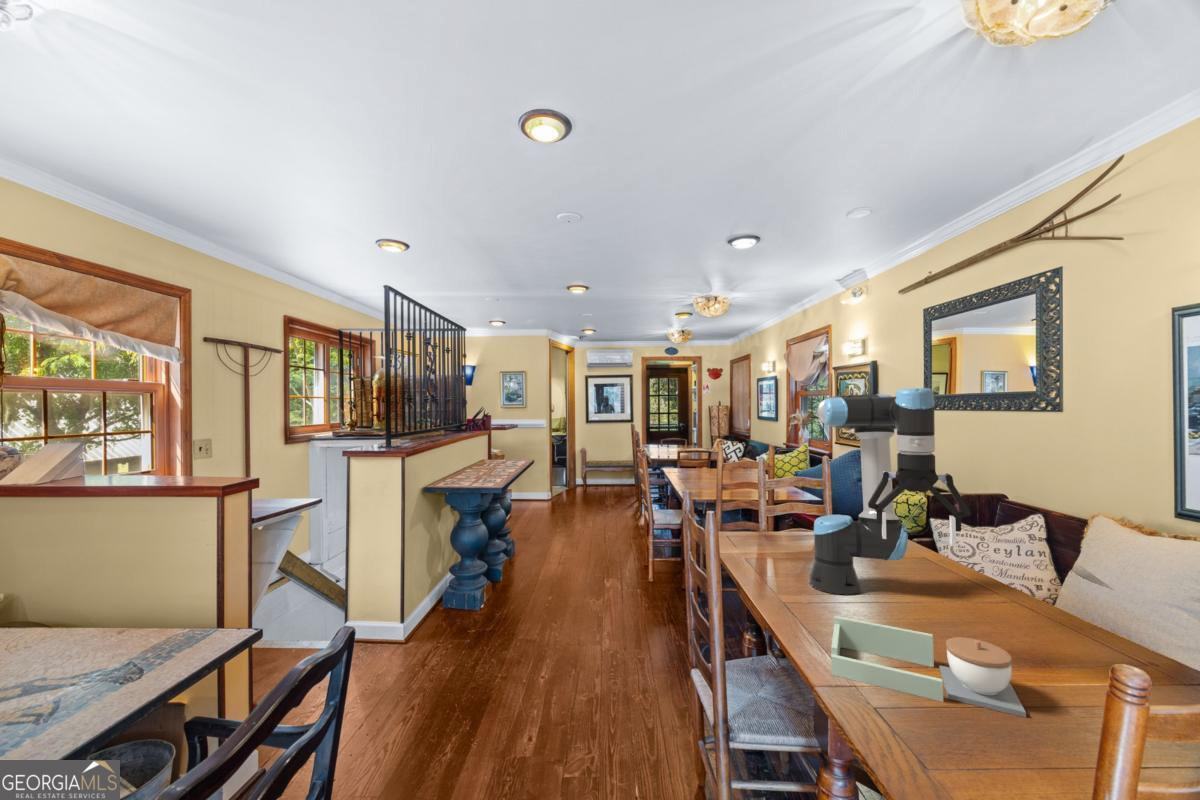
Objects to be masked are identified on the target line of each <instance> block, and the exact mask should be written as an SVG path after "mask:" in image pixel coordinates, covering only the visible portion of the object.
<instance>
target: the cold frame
mask: <svg viewBox="0 0 1200 800" xmlns="http://www.w3.org/2000/svg"><path fill="white" fill-rule="evenodd" d="M833 618H834V619H833V621H834V622H833V623H834V625H833V632H832V639H831V647H830V650H831V651H830V652H831V655H830V662H831V663H830V667H831V668H830V670H831V671H830V672H831V673H830V674H831V676H835V677H841V678H843V679H849V680H852V681H857V682H860V683H865V684H869V685H873V686H877V687H880V688H884V689H888V690H892V691H897V692H900V693H901V692H902V693H904V694H908V695H914V696H916V697H920V698H926V699H929V700H933V701H937V702H941V703H944V683H943V680H942V678H939V677H934V676H930V675H926V674H921V673H918V672H913V671H907V670H904V669H900V668H895V667H891V666H886V665H882V664H877V663H873V662H868V661H864V660H859V659H855V658H851V657H846V656H842V655H840V654H841V648H844V649H848V650H853V651H857V652H862V653H866V654H871V655H875V656H879V657H885V658H890V659H894V660H898V661H902V662H903V661H904V662H907V663H910V664H911V663H913V664H917V665H921V666H926V667H929V668H930V667H931V668H934V667H935V662H934V636H933V633H927V632H923V631H916V630H911V629H908V628H902V627H896V626H891V625H885V624H881V623H880V624H879V623H875V622H869V621H866V620H865V621H864V620H859V619H852V618H850V617H849V618H848V617H843V616H838V615H834V616H833Z"/></svg>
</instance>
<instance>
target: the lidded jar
mask: <svg viewBox="0 0 1200 800" xmlns="http://www.w3.org/2000/svg"><path fill="white" fill-rule="evenodd" d="M945 648H946V656H947V663H948V665H949V666H948V667H949V668H950V669H951V671H952V672H953V674H954V675H955V677H956V678H957V679H958V680H959V681H960V682H961V684H962V685H963V686H964V687H965V688H967V689H969V690H971V691H973V692H975V693H978V694H982V695H988V696H994V695H997V694H998V692H1001V691H1002V690H1004V689H1005V688H1006V687H1007V686H1008V684H1009V682H1010V683H1011V678H1012V664H1013V658H1012V656H1011V654H1010V653H1009V652H1007V651H1006V650H1004V649H1003V648H1001V647H999V646H997V645H995V644H993V643H990V642H987V641H984V640H980V639H977V638H970V637H962V636H959V637H958V636H955V637H950V638H948V639H947V640H945Z"/></svg>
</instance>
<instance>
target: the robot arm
mask: <svg viewBox="0 0 1200 800" xmlns="http://www.w3.org/2000/svg"><path fill="white" fill-rule="evenodd" d="M935 405H936V400H935V395H934V391H933V390H932V388H928V387H926V388H925V387H924V388H921V387H920V388H900V389H897V391H896V394H895V396H892V395H890V394H880V393H875V394H874V393H873V394H849V395H848V394H841V395H840V394H839V395H836V396H834V395H833V396H831V397H827V398H825V399H823V400H822V401H820V402H819V403H818V405H817V407H816V416H817V418H818V420H819V421H820V422H821V423H823V424H824V425H826V426H828V427H830V428H831V427H832V428H836V429H844V430H845V429H848V430H849V429H850V430H852V429H853V430H854V431H853V432H854V435H855V436H856V437H857V438H858V439H859V441H860V442H859V443H860V444H859V445H860V448H859V449H860V463H861V464H860V466H861V467H860V468H861V486H862V487H861V488H862V505H863V506H862V507H863V509H862V512H860V513H859V514H858V520H853V518H852V516H850V515H845V514H828V515H822V516H819V517H817V518H816V519H815V520H814V522H813V534H814V535H813V537H814V540H813V541H814V542H813V545H814V551H813V553H814V554H813V555H814V562H813V564H812V568H811V571H810V573H809V576H808V577H809V584H810V583H811V584H812V585H813V586H814V587H816V588H818V589H820V590H823V591H826V592H825V593H827V592H829V594H832V593H835V594H834V595H839V594H844V596H845V595H846V596H848V595H849V594H851V595H856V594H859V592H861V582H860V580H859V576H858V574H857V572H856V569H855V567H854V558H861V559H872V560H883V561H885V562H886V561H901V560H902V559H903V558H904V557H905V555H906V553H907V548H908V543H909V542H908V541H909V539H908V538H909V537H908V536H909V535H908V529H907V526H906V524H904V523H901V518H900V517H899V516H898V515H896V513H895V508H894V500H895V499H896V498H898V496H899V495H900V494H901V493H904V491H905V490H906V491H907V492H912V493H914V492H918V493H926V492H930V493H931V494H932V495H933V496H934V497H935V498H936V499H937V500H938V501H939V502H940V503H941V504H942V505H943V506H945V507H944V508H946V509H947V510H948V511H949V512H950V513H951V514H952V515H951V514H950V515H948V517H949V519H948V523H949V524H948V525H949V527H948V528H949V530H948V531H949V532H948V533H949V544H950V546H951V547H957V539H956V538H957V537H956V536H957V532H958V533H960V532H961V531H962V519H963V518H966V517H970V516H972V512H971V510H970V508H969V507H968V505H967V504H966V502H965V501H964V499H963V498H962V496H961V494H960V492H959V491H958V489H957V487H956V486H955V484H954V479H953V476H952V475H951V474H950V473H948V472H947V473H945V474H937V472H936V455H935V454H933V453H934V452H936V444H935V443H936V441H935V440H936V439H935V429H936V428H935V426H936V425H935ZM895 430H896V450H897V451H898V453H897V454H896V460H897V462H896V463H897V464H896V465H897V468H896V472H892V462H891V460H892V459H891V458H892V457H891V444H890V442H891V438H892V437H893V436H894V435H895ZM893 479H896V480H897V481H898V482H899V483H898V484H897V485H896V486H895V487H894V488H893ZM938 481H941V483H942V484H943V485H945V486H946V487H947V489H948V490H949V493H950V494H951V496H952V497H953V498H954V500H955V502H956V504H957V505H958V507H959V510H957V509H956V508H955V506H954V505H953V504H951V503H950V501H948V499H946V497H944V496H943V494H941V493H940V491H938V489H937V488H936V487H935V484H937V483H938ZM814 587H813V588H814ZM816 588H815V589H816ZM818 589H817V590H818ZM820 590H819V591H820ZM823 591H822V592H823ZM855 593H856V594H855ZM849 596H850V595H849Z"/></svg>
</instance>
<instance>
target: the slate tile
mask: <svg viewBox="0 0 1200 800" xmlns="http://www.w3.org/2000/svg"><path fill="white" fill-rule="evenodd" d="M938 667H939V671H940V675H941V679H942V681H943V688H944V689H945V693H946V696H947V697H946V698H947V699H948V700H952V701H957V702H960V703H965V704H968V705H973V706H976V707H981V708H985V709H988V710H993V711H997V712H1001V713H1005V714H1010V715H1014V716H1018V717H1023V718H1027V712H1026V710H1025V708H1024V706H1023V704H1022V702H1021V701H1020V698H1019V697H1018V695H1017V693H1016V691H1015V690H1014V687H1013V686H1012V684H1011V681H1010V682H1009V684H1008V686H1007V687H1006V688H1005V689H1004V690H1002V691H1001V692H998V694H997V695H994V696H988V695H982V694H978V693H975V692H973V691H971V690H969V689H967V688H965V687H964V686H963V685H962V684H961V682H960V681H959V680H958V679H957V678H956V677H955V675H954V674H953V672H952V671H951V669H950V666H946V665H945V666H944V665H939V666H938Z"/></svg>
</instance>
